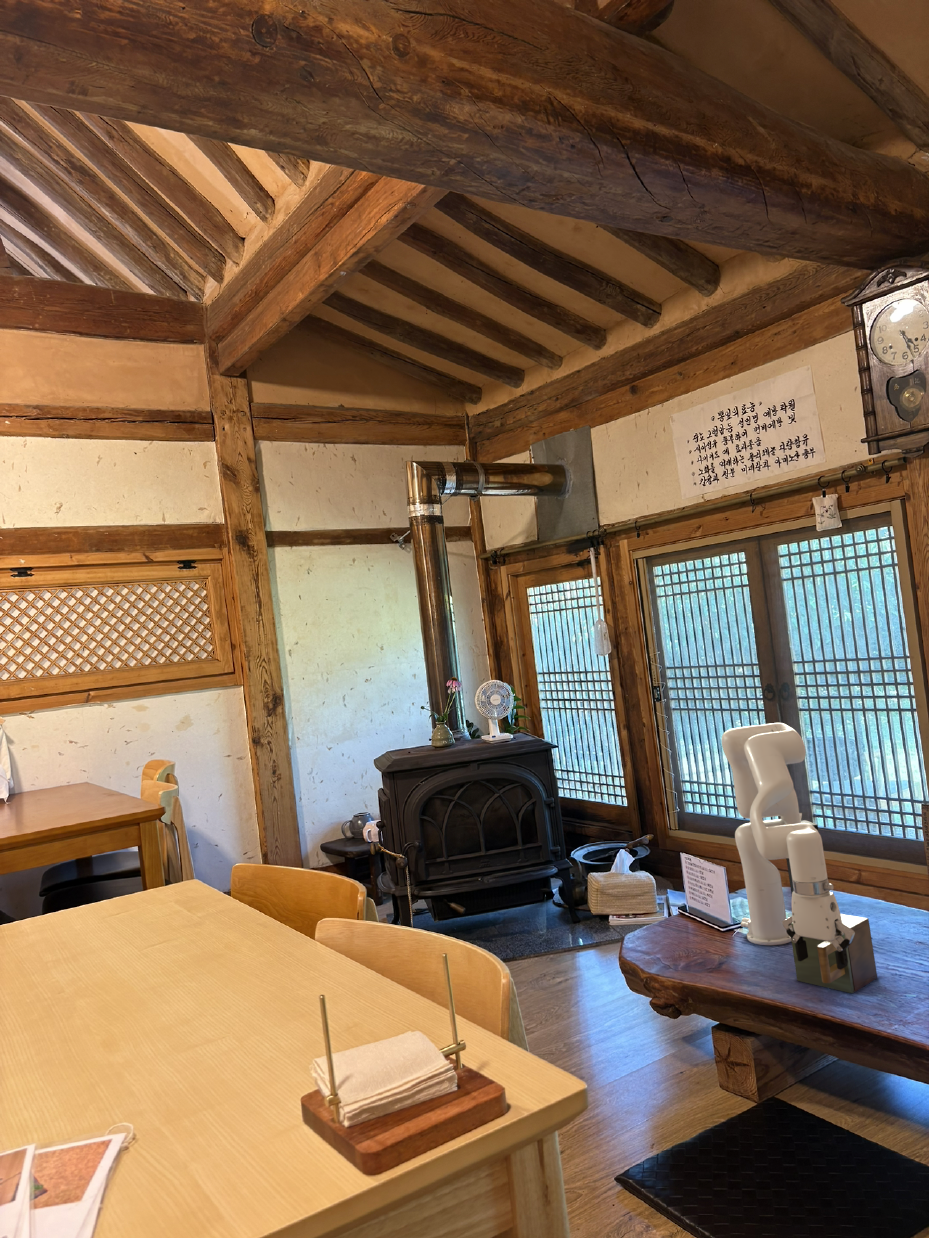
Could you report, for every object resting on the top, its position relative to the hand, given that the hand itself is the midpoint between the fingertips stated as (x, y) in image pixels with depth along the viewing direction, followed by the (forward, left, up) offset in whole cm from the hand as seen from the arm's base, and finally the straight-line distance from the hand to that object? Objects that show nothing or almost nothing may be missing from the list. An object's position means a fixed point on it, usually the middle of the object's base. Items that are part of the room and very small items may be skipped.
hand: (822, 963), depth 201 cm
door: (-5, +4, -9) cm, 11 cm away
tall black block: (-39, +57, -9) cm, 70 cm away
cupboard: (-5, +13, -9) cm, 17 cm away
